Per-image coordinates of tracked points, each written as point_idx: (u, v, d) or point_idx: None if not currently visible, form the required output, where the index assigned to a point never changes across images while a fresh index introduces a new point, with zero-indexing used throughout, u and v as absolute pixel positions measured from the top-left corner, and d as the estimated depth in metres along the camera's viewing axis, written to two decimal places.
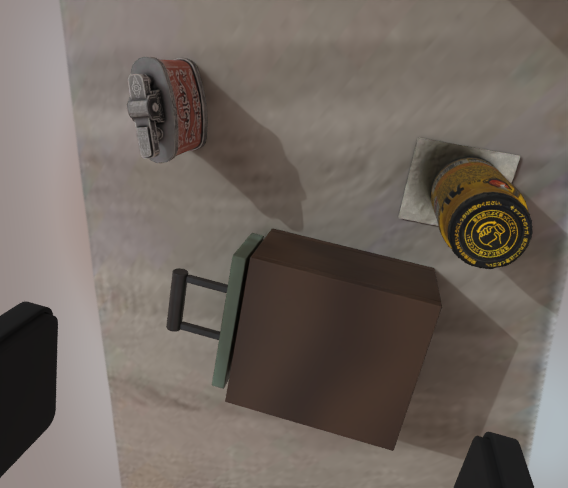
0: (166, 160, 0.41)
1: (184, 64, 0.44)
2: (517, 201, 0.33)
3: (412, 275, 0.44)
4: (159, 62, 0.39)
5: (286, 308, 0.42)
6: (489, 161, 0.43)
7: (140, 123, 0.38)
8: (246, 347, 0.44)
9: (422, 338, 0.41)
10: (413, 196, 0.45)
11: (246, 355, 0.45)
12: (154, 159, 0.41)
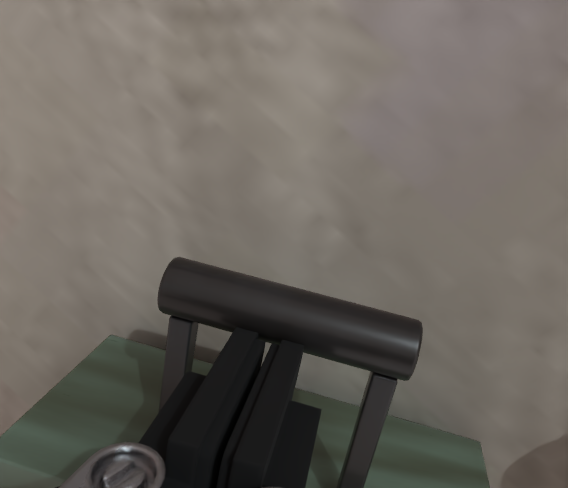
0: None
1: None
2: None
3: None
4: None
5: None
6: None
7: None
8: None
9: None
10: None
11: None
12: None
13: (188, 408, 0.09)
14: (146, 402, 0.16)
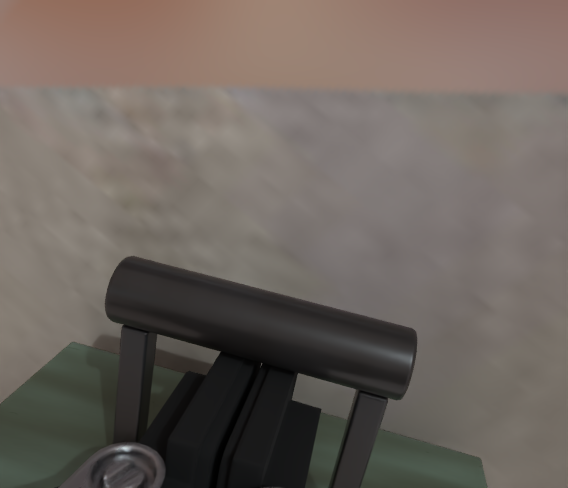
0: None
1: None
2: None
3: None
4: None
5: None
6: None
7: None
8: None
9: None
10: None
11: None
12: None
13: (188, 408, 0.09)
14: (106, 420, 0.14)
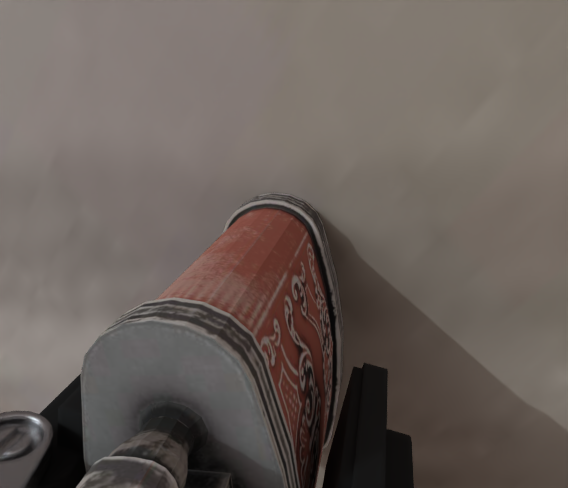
0: None
1: (294, 233, 0.12)
2: None
3: None
4: (235, 347, 0.07)
5: None
6: None
7: None
8: None
9: None
10: None
11: None
12: None
13: None
14: None
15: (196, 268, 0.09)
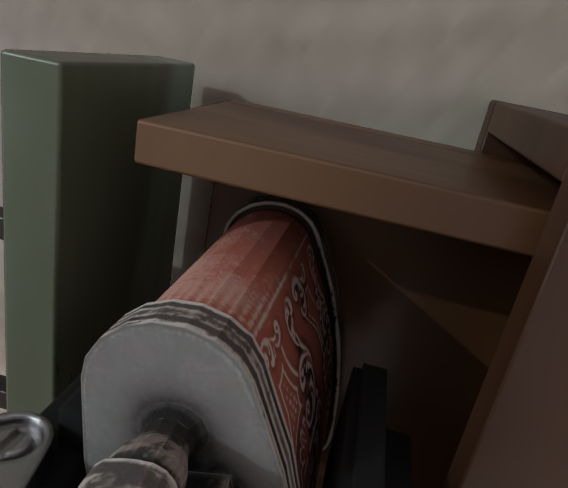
0: None
1: (294, 234, 0.12)
2: None
3: None
4: (236, 349, 0.07)
5: None
6: None
7: None
8: None
9: None
10: None
11: None
12: None
13: None
14: None
15: (196, 269, 0.09)
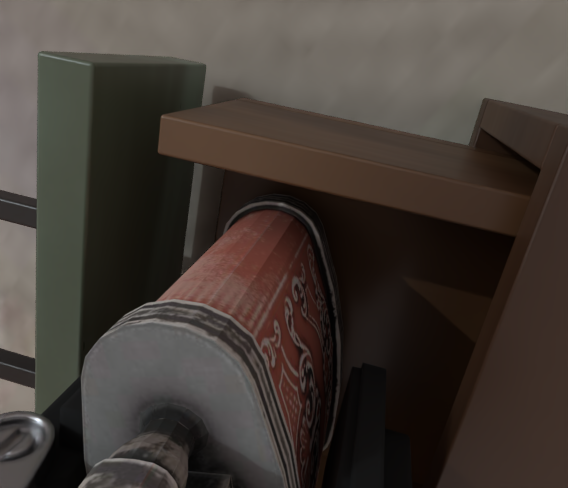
0: None
1: (294, 234, 0.12)
2: None
3: None
4: (236, 349, 0.07)
5: None
6: None
7: None
8: None
9: None
10: None
11: None
12: None
13: None
14: None
15: (196, 269, 0.09)
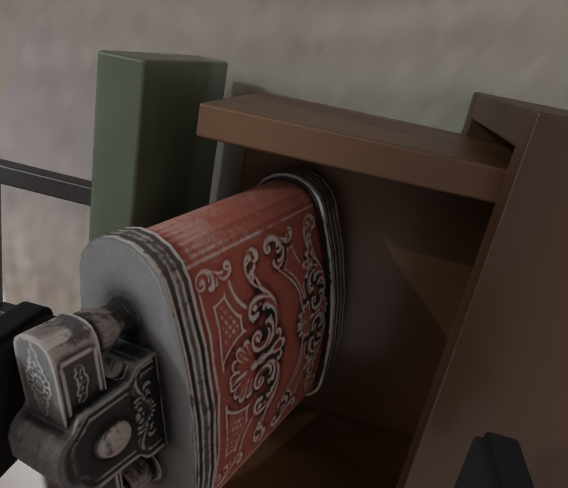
0: None
1: (292, 203, 0.14)
2: None
3: None
4: (161, 266, 0.10)
5: None
6: None
7: (57, 486, 0.10)
8: (458, 469, 0.12)
9: None
10: None
11: None
12: None
13: None
14: None
15: (185, 214, 0.12)
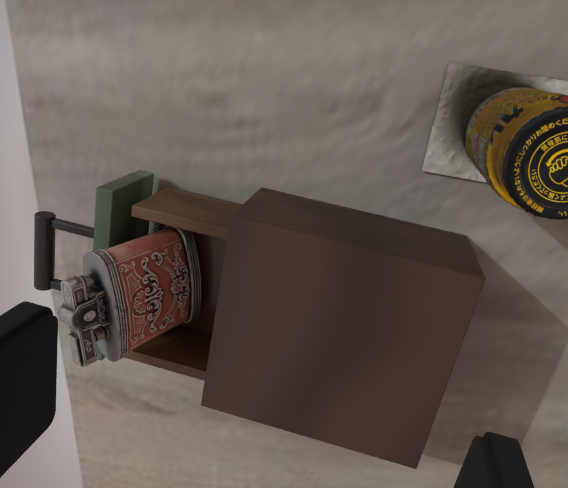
0: (113, 360, 0.35)
1: (169, 239, 0.36)
2: None
3: (441, 242, 0.34)
4: (105, 262, 0.32)
5: (278, 283, 0.32)
6: None
7: (72, 330, 0.33)
8: (226, 335, 0.34)
9: (458, 322, 0.31)
10: (442, 142, 0.35)
11: (227, 346, 0.35)
12: (104, 353, 0.36)
13: None
14: None
15: None
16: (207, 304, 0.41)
